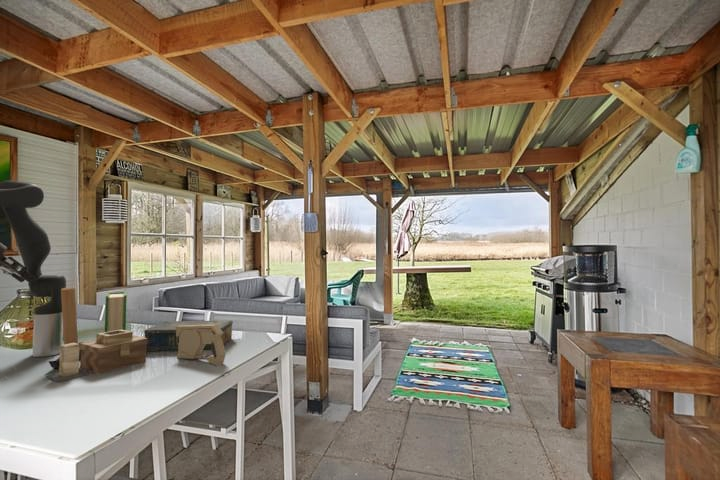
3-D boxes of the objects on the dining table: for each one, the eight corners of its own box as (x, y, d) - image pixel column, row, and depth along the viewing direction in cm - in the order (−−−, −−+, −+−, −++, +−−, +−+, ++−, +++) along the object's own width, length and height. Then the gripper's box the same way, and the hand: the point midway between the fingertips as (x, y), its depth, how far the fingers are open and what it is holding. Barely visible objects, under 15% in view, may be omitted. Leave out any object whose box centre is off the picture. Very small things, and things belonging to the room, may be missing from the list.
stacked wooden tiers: (78, 367, 127) (80, 334, 127) (127, 355, 141) (128, 326, 142) (98, 374, 119) (99, 339, 120) (147, 361, 134) (148, 330, 134)
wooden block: (59, 374, 117) (60, 345, 118) (73, 371, 121) (74, 342, 121) (64, 376, 115) (65, 346, 116) (78, 373, 119) (79, 344, 119)
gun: (227, 363, 131) (225, 324, 132) (220, 366, 128) (218, 325, 129) (183, 361, 141) (181, 324, 142) (176, 363, 138) (174, 326, 139)
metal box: (164, 341, 167) (165, 320, 167) (233, 339, 170) (233, 319, 171) (141, 353, 146) (142, 330, 146) (220, 351, 149) (220, 328, 150)
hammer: (66, 375, 125) (62, 296, 121) (49, 376, 123) (44, 296, 119) (90, 350, 144) (87, 281, 140) (75, 351, 142) (72, 281, 138)
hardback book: (124, 350, 150) (126, 295, 151) (103, 352, 146) (105, 296, 147) (124, 341, 165) (126, 291, 166) (105, 343, 160) (107, 292, 161)
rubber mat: (45, 377, 117) (46, 375, 117) (77, 369, 125) (77, 367, 125) (58, 382, 112) (58, 380, 112) (90, 374, 120) (90, 372, 120)
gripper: (1, 237, 103) (48, 273, 113) (-15, 237, 110) (31, 271, 120) (-26, 254, 98) (26, 290, 108) (-40, 254, 105) (10, 288, 115)
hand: (29, 280), depth 114 cm, fingers open, 8 cm apart
